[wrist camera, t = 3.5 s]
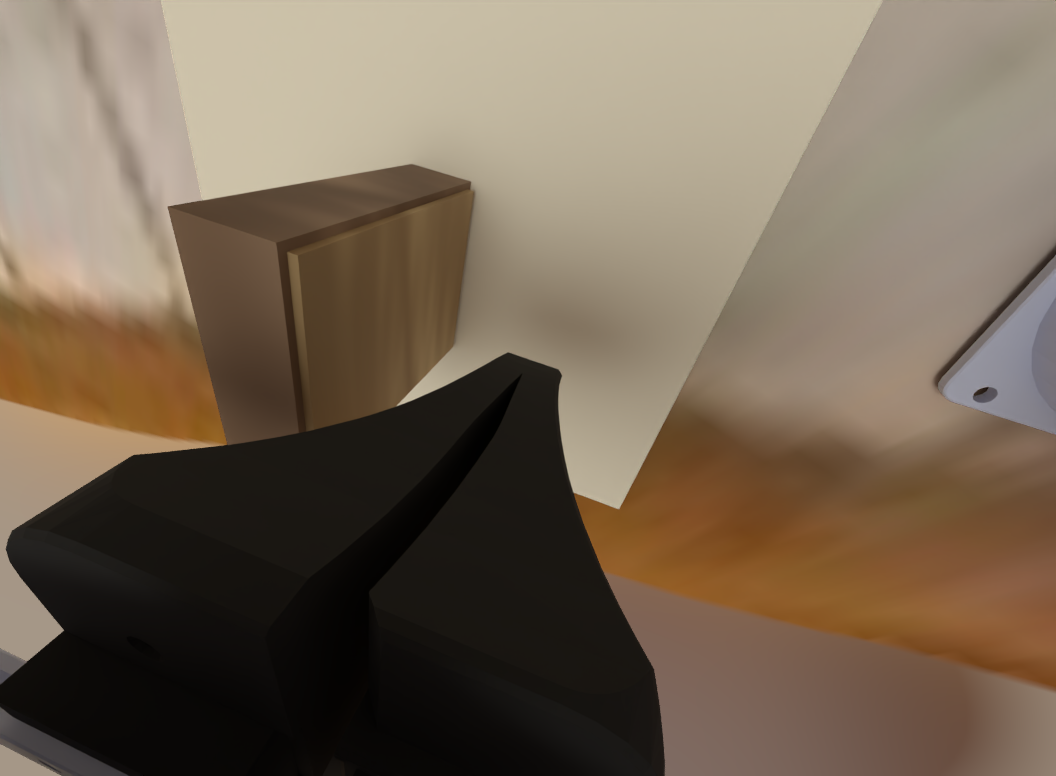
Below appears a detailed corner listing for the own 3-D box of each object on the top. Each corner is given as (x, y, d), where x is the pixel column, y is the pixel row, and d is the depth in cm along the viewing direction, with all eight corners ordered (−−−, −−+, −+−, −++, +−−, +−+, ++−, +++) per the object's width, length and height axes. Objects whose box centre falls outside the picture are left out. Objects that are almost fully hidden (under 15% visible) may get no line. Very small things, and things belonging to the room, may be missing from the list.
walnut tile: (477, 183, 13) (287, 246, 7) (454, 349, 17) (313, 497, 10) (411, 163, 14) (167, 206, 7) (402, 331, 17) (232, 465, 10)
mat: (916, -76, 9) (926, -84, 8) (620, 502, 19) (619, 509, 19) (126, -236, 11) (109, -247, 10) (243, 363, 21) (236, 366, 21)
